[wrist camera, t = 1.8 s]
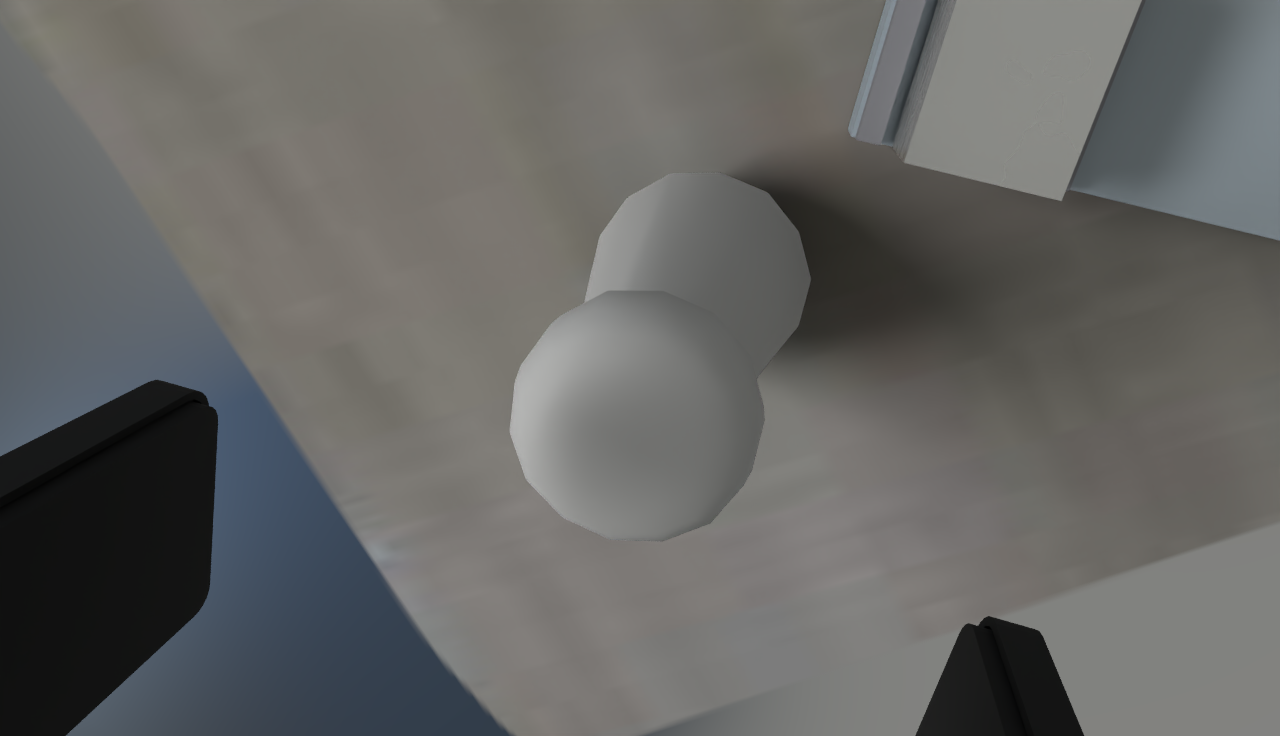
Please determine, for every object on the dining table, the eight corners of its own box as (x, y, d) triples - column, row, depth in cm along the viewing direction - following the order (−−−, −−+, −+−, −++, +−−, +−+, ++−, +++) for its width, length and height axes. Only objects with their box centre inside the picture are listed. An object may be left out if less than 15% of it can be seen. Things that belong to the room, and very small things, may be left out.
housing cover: (961, -73, 20) (986, -92, 17) (1112, -40, 20) (1162, -53, 17) (891, 147, 22) (903, 162, 19) (1028, 180, 22) (1061, 201, 19)
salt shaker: (754, 122, 25) (704, 200, 13) (842, 302, 26) (874, 529, 14) (576, 218, 26) (384, 368, 14) (667, 382, 28) (561, 644, 16)
